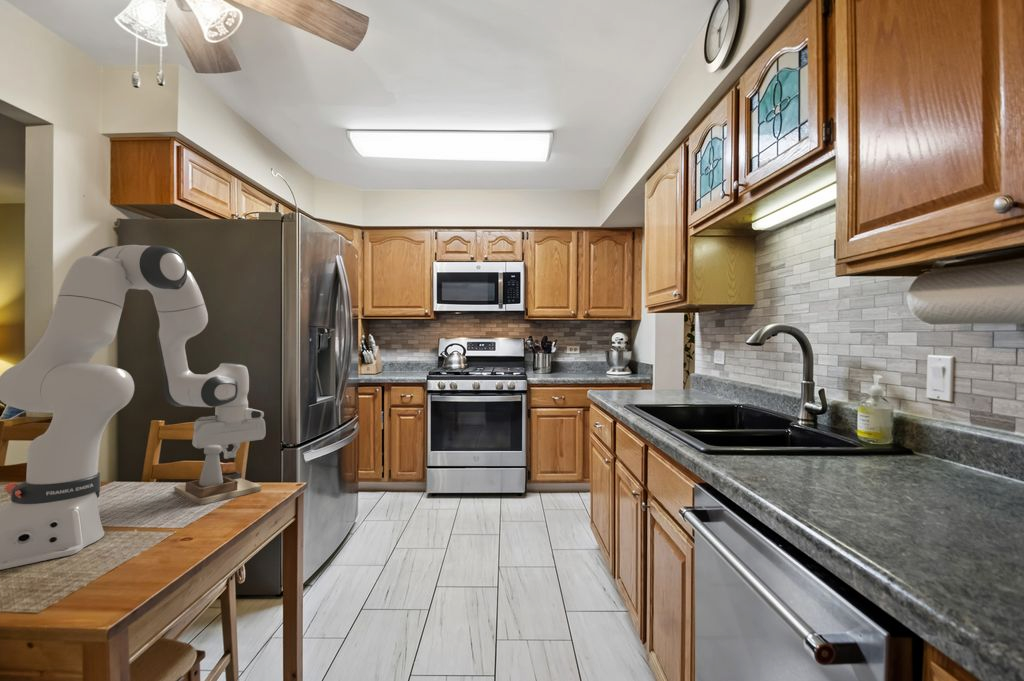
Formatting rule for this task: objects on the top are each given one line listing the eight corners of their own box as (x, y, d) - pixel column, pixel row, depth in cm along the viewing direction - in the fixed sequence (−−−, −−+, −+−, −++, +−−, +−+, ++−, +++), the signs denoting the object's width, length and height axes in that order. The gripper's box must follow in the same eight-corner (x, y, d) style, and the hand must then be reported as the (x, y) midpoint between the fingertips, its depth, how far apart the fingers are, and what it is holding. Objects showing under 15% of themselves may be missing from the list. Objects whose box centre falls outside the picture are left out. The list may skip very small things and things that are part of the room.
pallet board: (200, 505, 122) (201, 490, 122) (174, 491, 132) (174, 477, 132) (261, 490, 135) (261, 477, 135) (232, 479, 146) (233, 466, 146)
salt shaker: (202, 495, 126) (205, 448, 126) (195, 490, 129) (197, 445, 129) (226, 490, 130) (228, 445, 130) (218, 486, 134) (220, 442, 134)
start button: (225, 473, 140) (226, 465, 140) (221, 471, 141) (221, 463, 141) (236, 471, 142) (237, 463, 142) (232, 469, 144) (232, 462, 144)
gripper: (198, 418, 132) (196, 466, 132) (269, 411, 149) (267, 453, 149) (189, 416, 135) (187, 462, 135) (259, 409, 152) (257, 450, 152)
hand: (229, 457), depth 142 cm, fingers closed
